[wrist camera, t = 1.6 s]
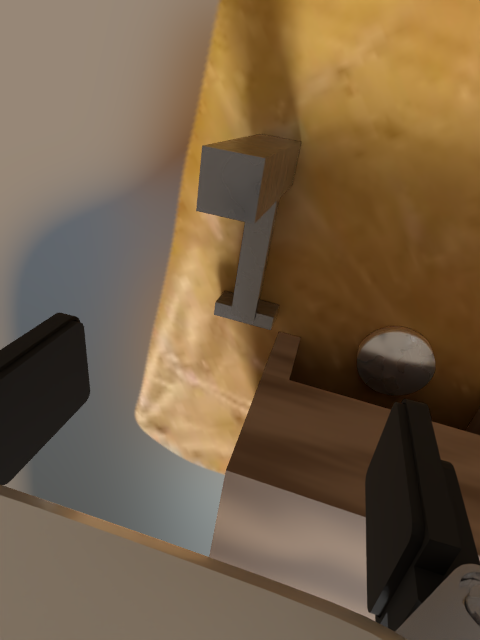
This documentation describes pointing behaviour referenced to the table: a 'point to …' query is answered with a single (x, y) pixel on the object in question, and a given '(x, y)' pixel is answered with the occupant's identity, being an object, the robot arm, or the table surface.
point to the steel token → (395, 360)
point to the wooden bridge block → (315, 484)
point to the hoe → (248, 211)
